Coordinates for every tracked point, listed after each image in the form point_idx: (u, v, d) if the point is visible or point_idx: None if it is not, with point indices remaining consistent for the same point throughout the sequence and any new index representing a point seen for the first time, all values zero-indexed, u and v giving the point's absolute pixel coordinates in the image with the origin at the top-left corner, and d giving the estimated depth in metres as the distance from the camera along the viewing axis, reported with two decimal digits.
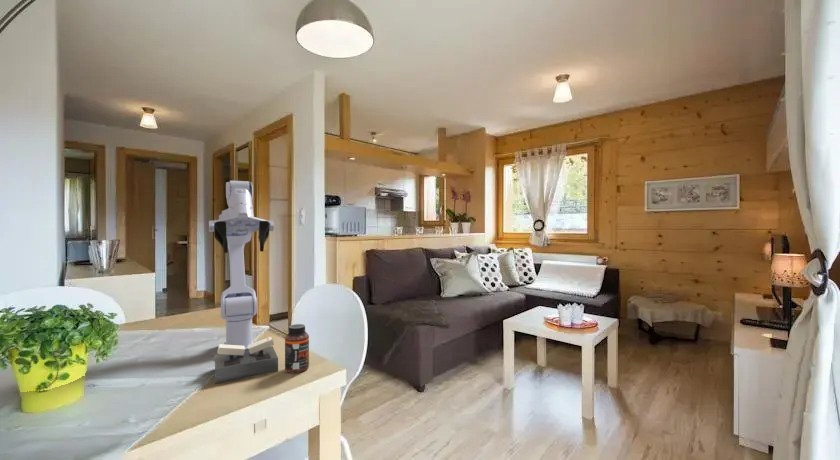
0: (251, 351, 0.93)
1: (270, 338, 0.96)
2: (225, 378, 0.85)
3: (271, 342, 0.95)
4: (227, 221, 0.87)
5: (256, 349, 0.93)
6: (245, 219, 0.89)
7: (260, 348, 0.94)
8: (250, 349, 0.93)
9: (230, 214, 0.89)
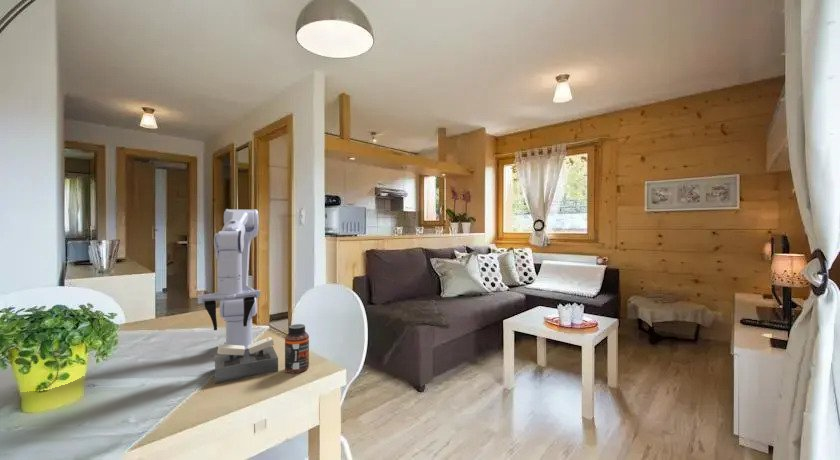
0: (251, 351, 0.93)
1: (270, 338, 0.96)
2: (225, 378, 0.85)
3: (271, 342, 0.95)
4: None
5: (256, 349, 0.93)
6: None
7: (260, 348, 0.94)
8: (250, 349, 0.93)
9: (218, 286, 0.92)
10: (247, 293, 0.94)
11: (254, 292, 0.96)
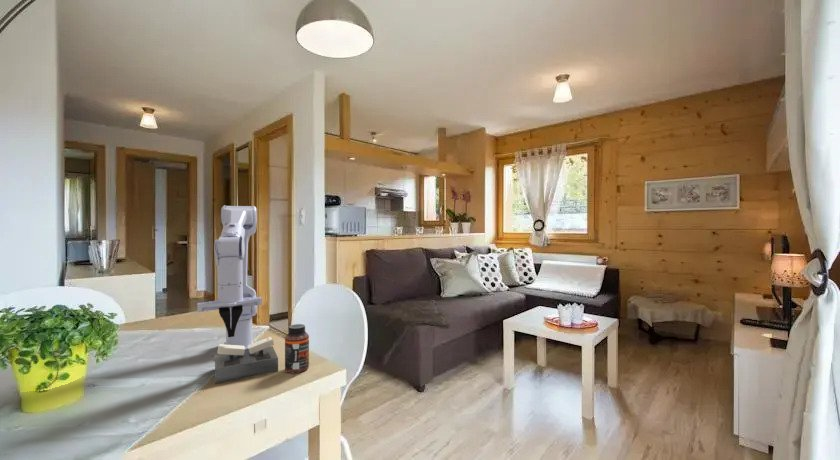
0: (251, 351, 0.93)
1: (270, 338, 0.96)
2: (225, 378, 0.85)
3: (271, 342, 0.95)
4: None
5: (256, 349, 0.93)
6: None
7: (260, 348, 0.94)
8: (250, 349, 0.93)
9: (219, 293, 0.89)
10: (248, 301, 0.92)
11: (255, 300, 0.93)
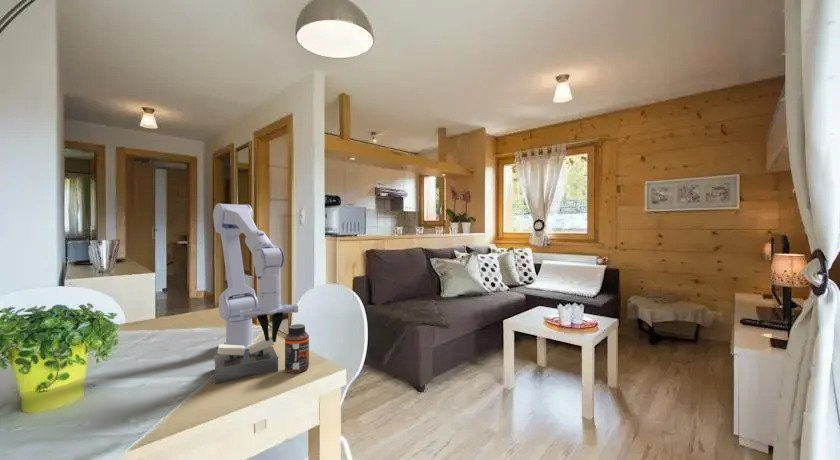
0: (251, 351, 0.93)
1: (270, 338, 0.96)
2: (225, 378, 0.85)
3: (271, 342, 0.95)
4: None
5: (256, 349, 0.93)
6: None
7: (260, 348, 0.94)
8: (250, 349, 0.93)
9: (259, 302, 0.94)
10: (286, 308, 0.97)
11: (292, 307, 0.98)
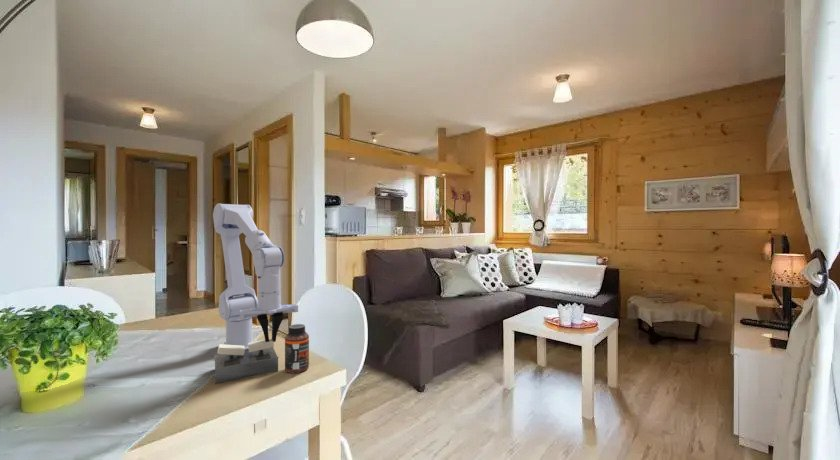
0: (251, 349, 0.93)
1: (271, 340, 0.96)
2: (225, 378, 0.85)
3: (271, 344, 0.95)
4: None
5: (256, 348, 0.93)
6: None
7: (260, 348, 0.94)
8: (250, 347, 0.93)
9: (259, 301, 0.94)
10: (286, 308, 0.97)
11: (292, 307, 0.98)
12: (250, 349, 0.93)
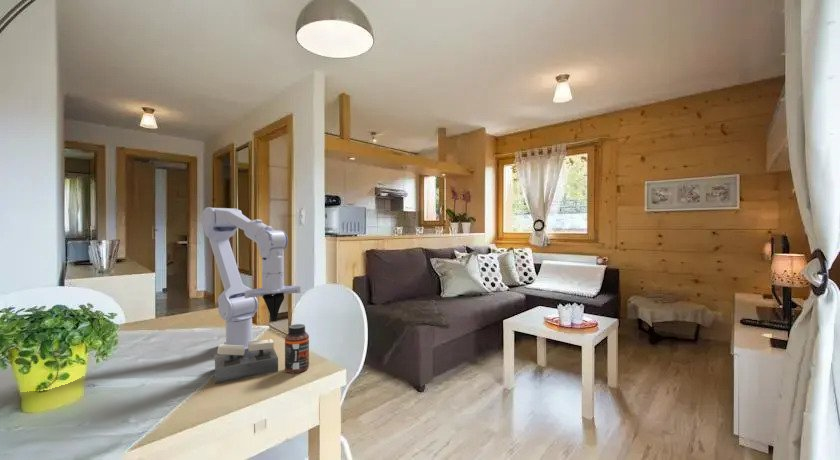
0: (250, 348, 0.93)
1: (271, 341, 0.96)
2: (225, 378, 0.85)
3: (271, 345, 0.95)
4: None
5: (256, 348, 0.93)
6: None
7: (259, 348, 0.94)
8: (250, 346, 0.93)
9: (263, 281, 0.98)
10: (289, 288, 1.01)
11: (295, 288, 1.02)
12: (250, 348, 0.93)
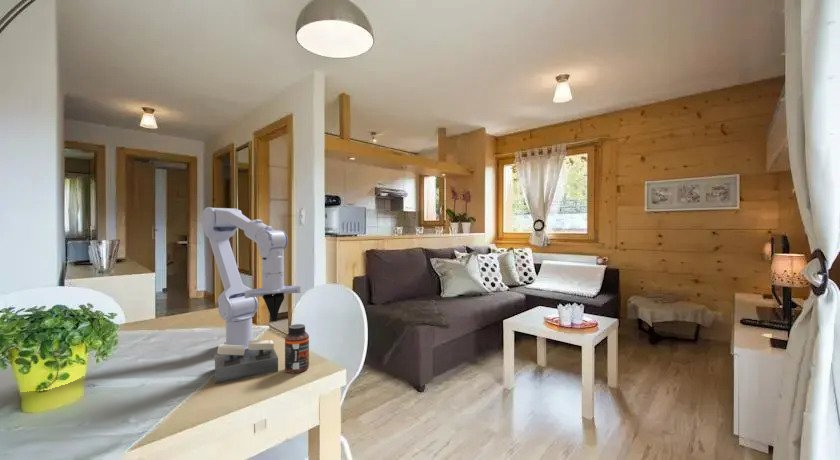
0: (250, 347, 0.93)
1: (271, 342, 0.96)
2: (225, 378, 0.85)
3: (271, 346, 0.95)
4: None
5: (256, 347, 0.93)
6: None
7: (259, 348, 0.94)
8: (250, 345, 0.93)
9: (263, 281, 0.98)
10: (289, 288, 1.01)
11: (295, 288, 1.02)
12: (250, 347, 0.93)
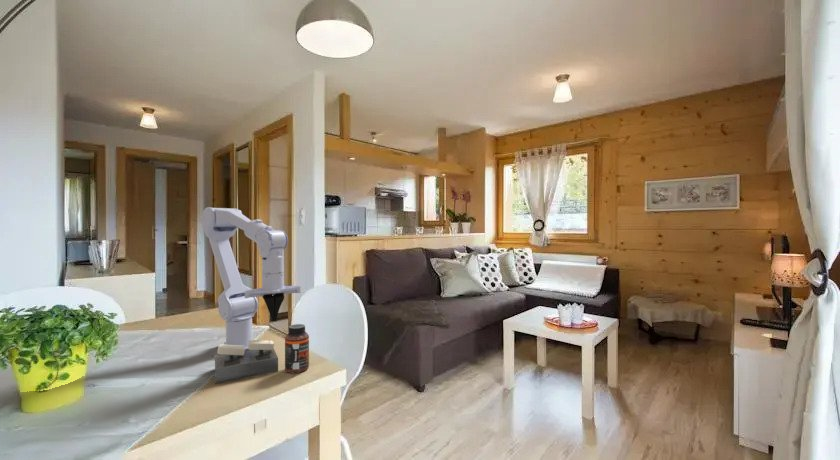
0: (250, 347, 0.93)
1: (272, 342, 0.96)
2: (225, 378, 0.85)
3: (271, 346, 0.95)
4: None
5: (256, 347, 0.93)
6: None
7: (259, 348, 0.94)
8: (250, 345, 0.93)
9: (263, 281, 0.98)
10: (289, 288, 1.01)
11: (295, 288, 1.02)
12: (250, 347, 0.93)
